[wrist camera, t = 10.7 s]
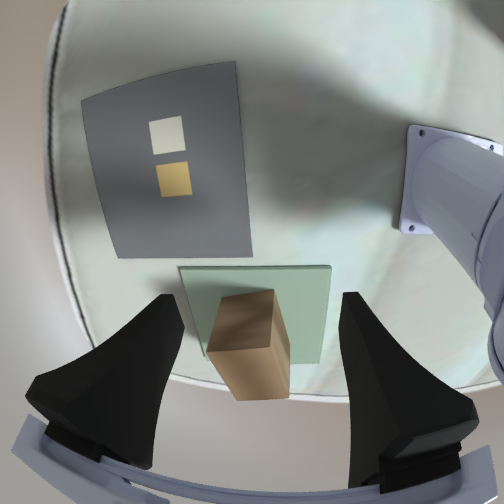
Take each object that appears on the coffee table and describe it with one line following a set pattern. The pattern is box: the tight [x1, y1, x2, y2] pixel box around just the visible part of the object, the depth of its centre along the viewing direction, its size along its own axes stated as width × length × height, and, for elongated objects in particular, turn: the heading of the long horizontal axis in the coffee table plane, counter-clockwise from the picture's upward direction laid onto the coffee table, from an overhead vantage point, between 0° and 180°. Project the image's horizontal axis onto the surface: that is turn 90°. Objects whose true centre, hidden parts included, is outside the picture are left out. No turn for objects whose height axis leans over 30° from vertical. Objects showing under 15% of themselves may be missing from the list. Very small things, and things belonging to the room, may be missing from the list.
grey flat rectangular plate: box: [81, 61, 253, 258], centre depth 18 cm, size 12×14×1 cm
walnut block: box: [206, 289, 290, 401], centre depth 21 cm, size 4×7×6 cm, turn 16°
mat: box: [180, 266, 332, 364], centre depth 24 cm, size 12×12×1 cm
